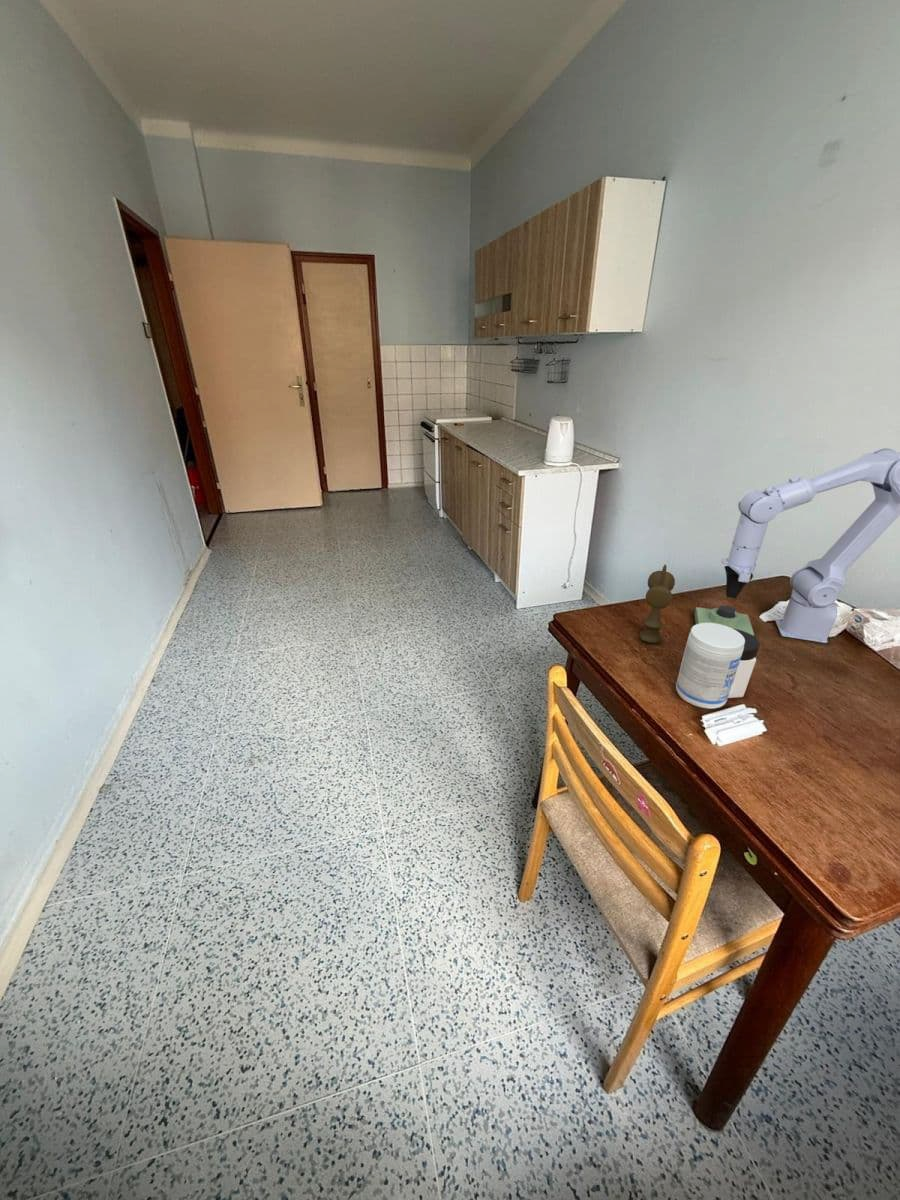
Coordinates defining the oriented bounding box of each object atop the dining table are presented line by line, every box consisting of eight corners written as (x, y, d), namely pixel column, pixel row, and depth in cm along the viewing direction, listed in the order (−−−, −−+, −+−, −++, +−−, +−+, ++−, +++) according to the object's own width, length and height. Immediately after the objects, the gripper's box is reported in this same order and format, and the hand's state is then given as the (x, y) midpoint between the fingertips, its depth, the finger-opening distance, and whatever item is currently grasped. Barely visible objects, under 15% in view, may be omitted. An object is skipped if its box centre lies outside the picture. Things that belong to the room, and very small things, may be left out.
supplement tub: (728, 715, 91) (750, 653, 84) (675, 704, 94) (691, 643, 87) (723, 686, 99) (742, 626, 92) (674, 676, 102) (689, 618, 95)
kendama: (663, 632, 118) (680, 558, 109) (661, 652, 110) (679, 575, 101) (638, 627, 120) (652, 554, 111) (634, 646, 113) (649, 570, 103)
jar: (752, 689, 98) (770, 641, 92) (732, 705, 94) (749, 655, 88) (710, 668, 104) (724, 622, 99) (690, 682, 100) (703, 635, 95)
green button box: (745, 622, 122) (750, 608, 120) (751, 642, 113) (756, 627, 111) (694, 614, 126) (697, 601, 124) (696, 633, 117) (700, 619, 115)
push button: (732, 613, 119) (734, 606, 118) (734, 619, 116) (736, 613, 115) (716, 610, 120) (718, 604, 119) (718, 617, 117) (719, 611, 116)
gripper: (723, 532, 116) (710, 581, 122) (730, 553, 104) (715, 607, 111) (756, 535, 114) (740, 585, 120) (767, 558, 102) (749, 612, 108)
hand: (730, 596), depth 115 cm, fingers closed
